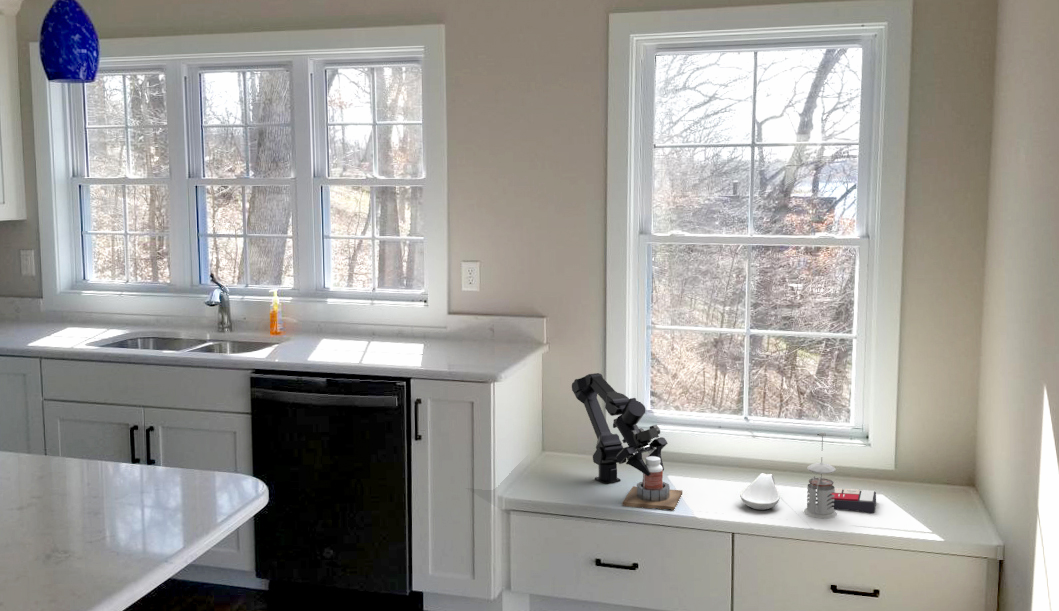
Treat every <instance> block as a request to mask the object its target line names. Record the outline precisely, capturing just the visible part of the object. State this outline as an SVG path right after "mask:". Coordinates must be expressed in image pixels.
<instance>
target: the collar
mask: <svg viewBox="0 0 1059 611" xmlns="http://www.w3.org/2000/svg"><path fill="white" fill-rule="evenodd" d="M636 487H637V498H639V499H641V500H644V501H651V502H656V501H664V500H667V499H668V498H669V492H670V490H671V489H670V484H669V483H668V482H665V481H663V488H662V489H646V488H643V480H642V481H640V482H638V483H636Z"/></svg>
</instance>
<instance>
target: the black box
mask: <svg viewBox="0 0 1059 611" xmlns="http://www.w3.org/2000/svg"><path fill="white" fill-rule="evenodd" d="M831 494H832V495H834V497H832V499H834V502H833V501H832V503H834V506H833V505H832V507H834V510H839V511H842V510H843V511H853V512H859V513H868V514H875V512H876V505H877V492H876V491H875V490H867V489H856V488H842V487H839V488H838V487H835V493H831Z"/></svg>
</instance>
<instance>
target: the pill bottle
mask: <svg viewBox="0 0 1059 611" xmlns="http://www.w3.org/2000/svg"><path fill="white" fill-rule="evenodd" d="M660 462H661V461H660V458H659V457H655V456H650V457H648V456H646V457H645V461H644V463H645V464H646V466H647V468H648V470H649V472H650V475H649V476H647V475H645V474H644V473H642V481H643V488H646V489H662V488H663V482H664V479H663V478H664V477H663V476H664V471H663V467H664V466H663V467H662V466H661V465H660Z"/></svg>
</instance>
